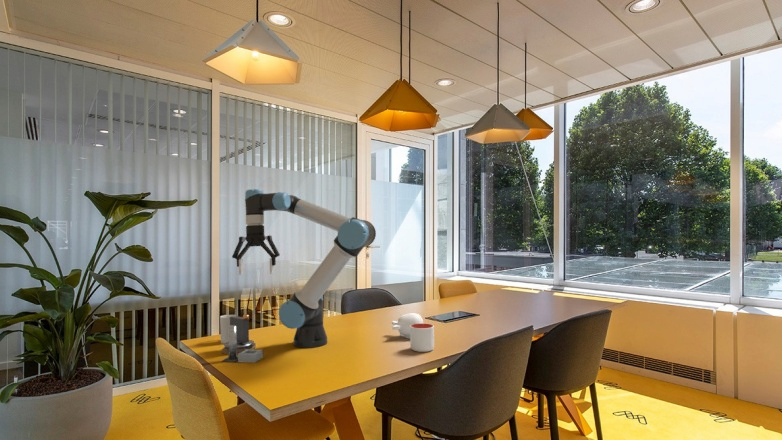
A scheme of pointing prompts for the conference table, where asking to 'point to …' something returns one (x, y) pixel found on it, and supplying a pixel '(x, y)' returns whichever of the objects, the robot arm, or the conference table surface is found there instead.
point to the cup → (422, 337)
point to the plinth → (226, 351)
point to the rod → (232, 342)
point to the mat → (230, 360)
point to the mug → (225, 328)
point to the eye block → (250, 355)
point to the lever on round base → (241, 332)
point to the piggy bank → (406, 323)
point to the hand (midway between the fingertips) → (256, 273)
